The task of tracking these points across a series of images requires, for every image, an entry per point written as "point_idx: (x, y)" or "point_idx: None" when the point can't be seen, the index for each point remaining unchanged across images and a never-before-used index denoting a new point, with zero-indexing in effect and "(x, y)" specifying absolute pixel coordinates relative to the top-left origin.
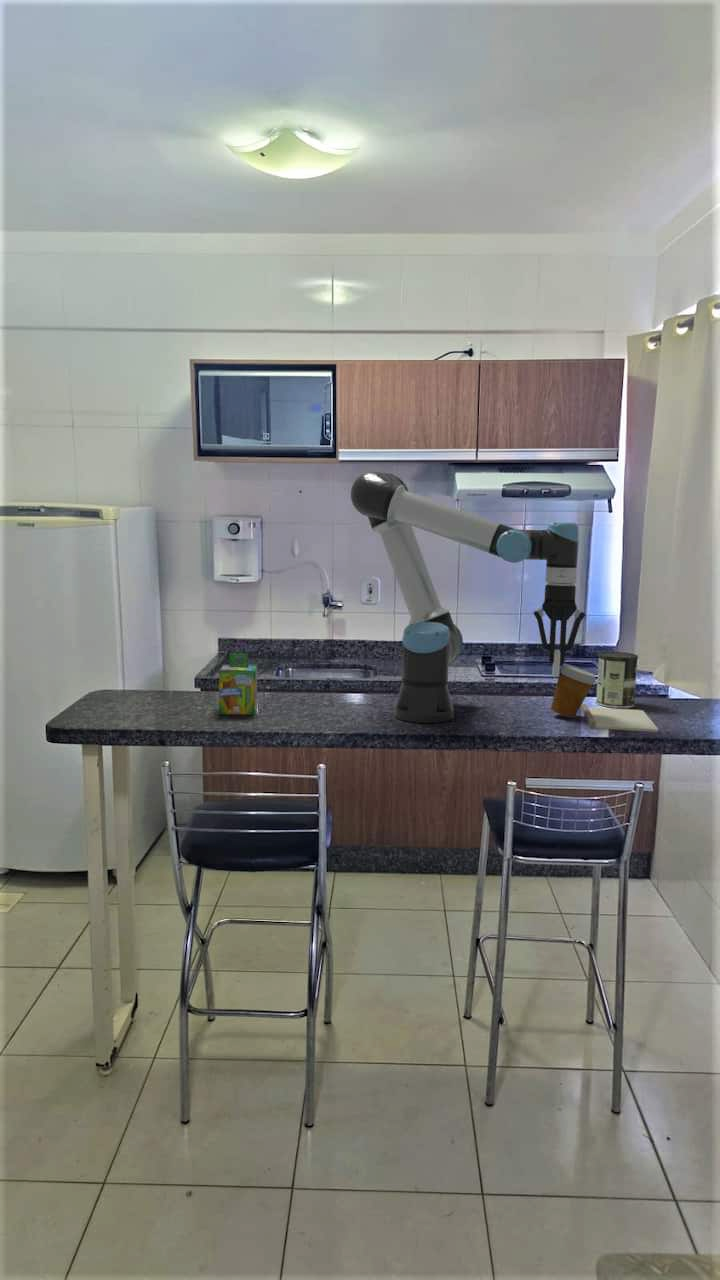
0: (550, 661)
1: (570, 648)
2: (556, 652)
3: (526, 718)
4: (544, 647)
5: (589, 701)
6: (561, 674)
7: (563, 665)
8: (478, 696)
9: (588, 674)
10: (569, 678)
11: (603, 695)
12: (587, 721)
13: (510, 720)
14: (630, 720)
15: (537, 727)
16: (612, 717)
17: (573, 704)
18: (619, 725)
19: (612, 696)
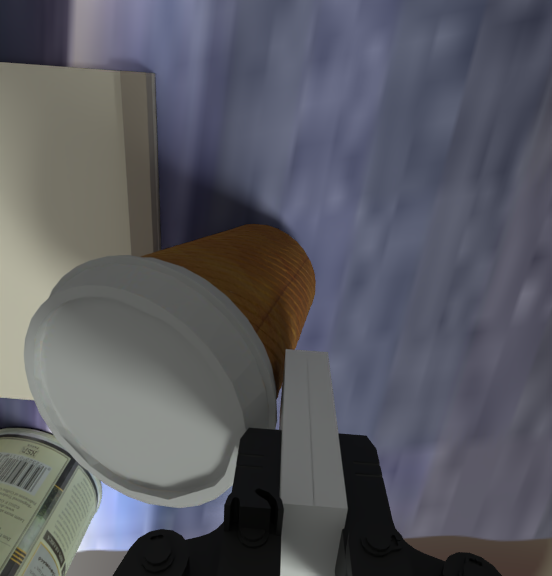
0: (363, 447)
1: (158, 540)
2: (324, 500)
3: (436, 218)
4: (477, 564)
5: (124, 509)
6: (268, 360)
7: (247, 423)
8: (541, 532)
9: (72, 393)
10: (219, 289)
11: (58, 485)
12: (158, 192)
13: (529, 166)
14: None
15: (426, 38)
16: (41, 256)
17: (211, 235)
18: (10, 103)
19: (20, 467)
